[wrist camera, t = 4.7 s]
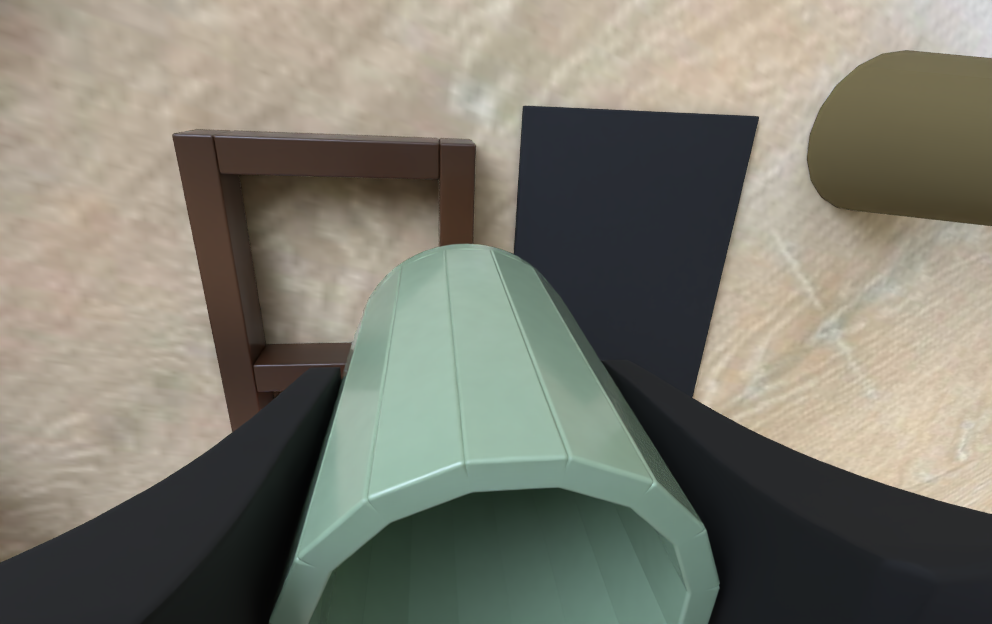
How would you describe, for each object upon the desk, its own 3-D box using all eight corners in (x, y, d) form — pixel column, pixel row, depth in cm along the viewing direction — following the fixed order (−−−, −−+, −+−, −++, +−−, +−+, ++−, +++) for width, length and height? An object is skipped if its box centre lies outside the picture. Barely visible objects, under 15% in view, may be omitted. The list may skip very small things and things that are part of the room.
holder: (463, 506, 25) (465, 535, 24) (267, 518, 24) (255, 549, 22) (471, 138, 18) (476, 143, 17) (195, 128, 17) (170, 133, 15)
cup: (556, 424, 15) (674, 736, 8) (365, 432, 14) (300, 783, 7) (575, 243, 13) (767, 446, 6) (350, 242, 12) (232, 473, 5)
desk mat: (662, 511, 27) (664, 516, 27) (497, 522, 26) (497, 526, 26) (754, 116, 19) (759, 116, 19) (522, 105, 18) (524, 105, 18)
